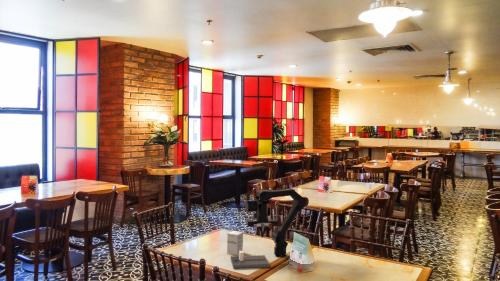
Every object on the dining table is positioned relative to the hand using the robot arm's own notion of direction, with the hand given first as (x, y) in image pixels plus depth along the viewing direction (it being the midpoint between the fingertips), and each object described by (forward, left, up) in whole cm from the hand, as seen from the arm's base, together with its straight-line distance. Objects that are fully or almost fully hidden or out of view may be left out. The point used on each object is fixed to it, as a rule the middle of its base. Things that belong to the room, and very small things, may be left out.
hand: (262, 237), depth 230 cm
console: (+9, +10, -12) cm, 18 cm away
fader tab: (+14, +10, -10) cm, 19 cm away
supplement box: (+15, -9, -12) cm, 21 cm away
